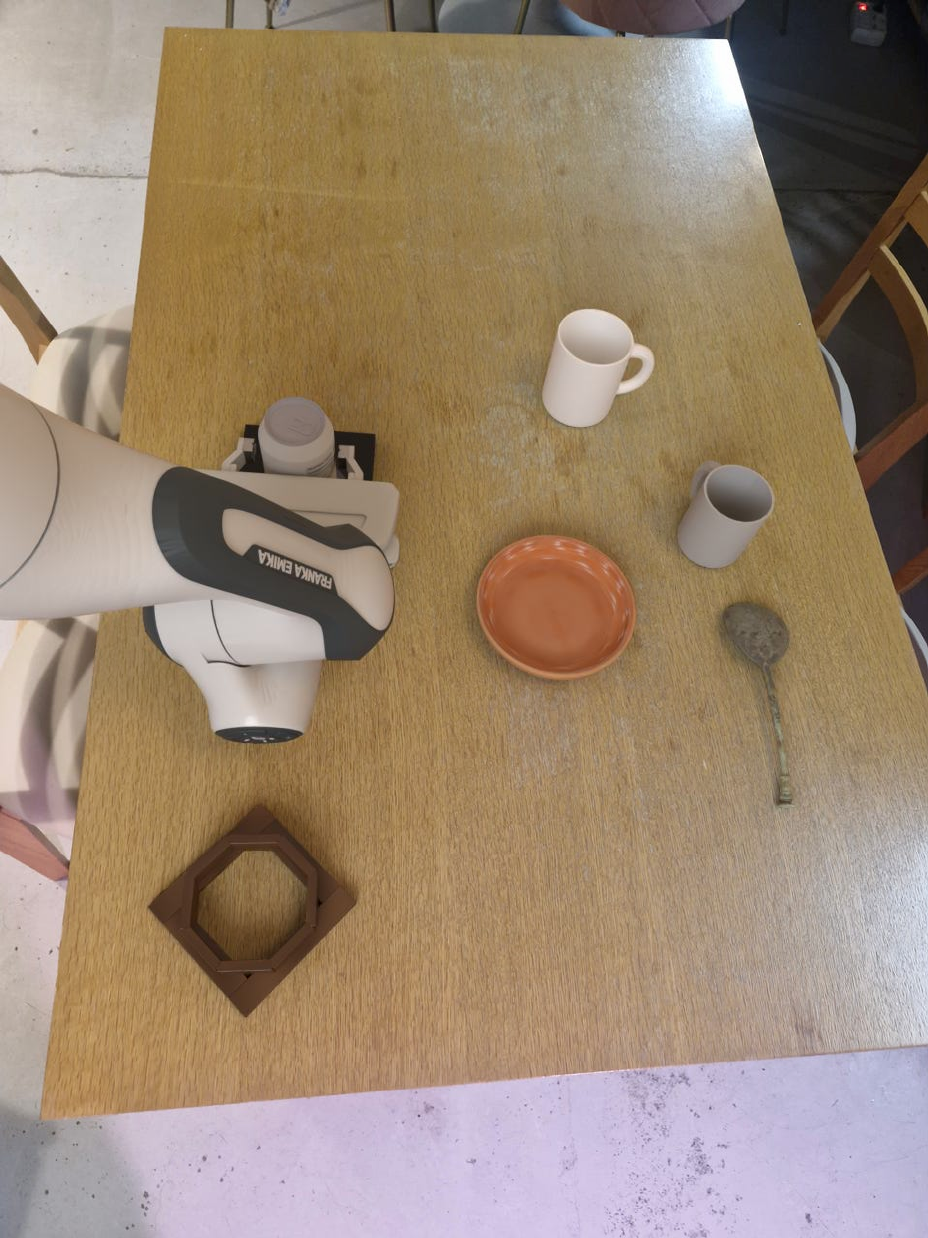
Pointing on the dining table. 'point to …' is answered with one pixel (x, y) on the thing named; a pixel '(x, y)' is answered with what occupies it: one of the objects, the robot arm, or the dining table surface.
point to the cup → (723, 513)
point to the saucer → (555, 607)
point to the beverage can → (297, 439)
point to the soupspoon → (763, 663)
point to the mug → (591, 367)
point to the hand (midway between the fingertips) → (297, 445)
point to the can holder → (247, 993)
